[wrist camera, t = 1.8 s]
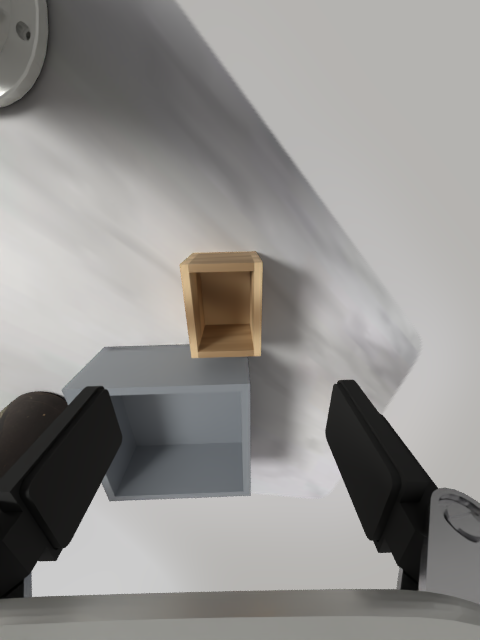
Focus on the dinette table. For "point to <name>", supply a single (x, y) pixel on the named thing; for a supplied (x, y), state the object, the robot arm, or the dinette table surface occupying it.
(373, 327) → the dinette table surface
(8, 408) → the container
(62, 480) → the robot arm
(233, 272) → the wooden crate
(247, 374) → the grey crate
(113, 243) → the dinette table surface
